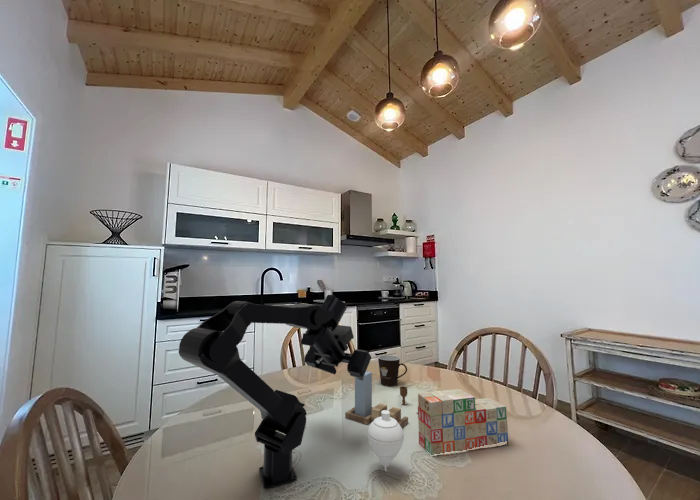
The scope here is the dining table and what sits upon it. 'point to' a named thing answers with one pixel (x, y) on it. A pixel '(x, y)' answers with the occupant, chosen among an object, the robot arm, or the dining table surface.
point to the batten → (363, 395)
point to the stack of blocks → (459, 421)
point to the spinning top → (385, 438)
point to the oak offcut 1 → (377, 411)
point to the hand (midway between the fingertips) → (348, 375)
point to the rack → (368, 418)
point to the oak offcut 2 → (395, 413)
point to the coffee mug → (389, 370)
